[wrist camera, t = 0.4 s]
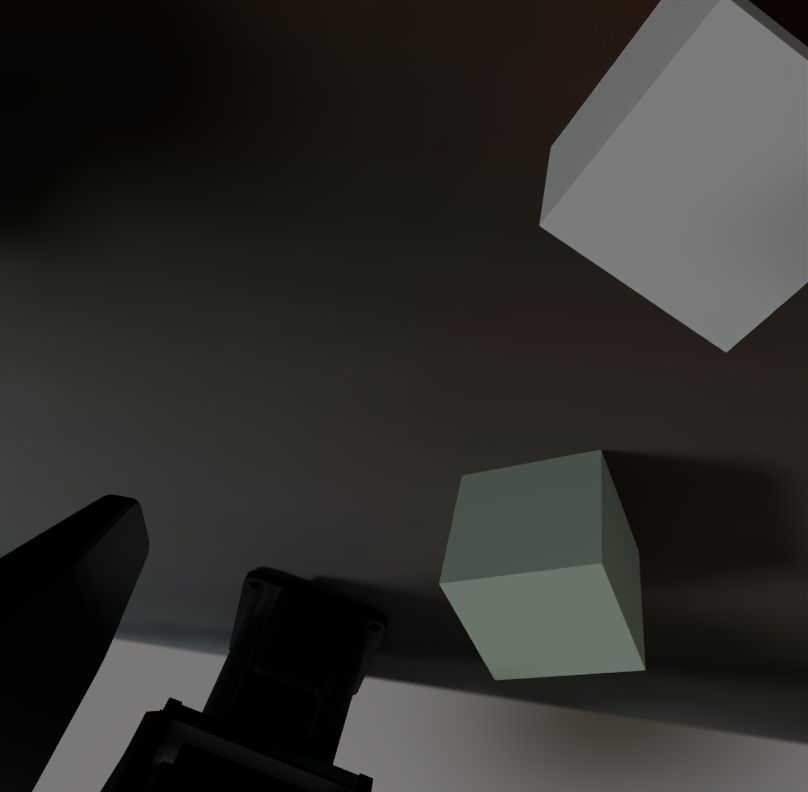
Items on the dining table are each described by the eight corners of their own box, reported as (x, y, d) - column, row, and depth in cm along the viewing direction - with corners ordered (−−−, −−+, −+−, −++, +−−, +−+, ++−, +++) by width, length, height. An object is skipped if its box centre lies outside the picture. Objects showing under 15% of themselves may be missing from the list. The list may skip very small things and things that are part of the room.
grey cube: (700, 251, 20) (726, 352, 16) (551, 146, 19) (539, 225, 15) (862, 90, 17) (942, 165, 13) (693, -43, 16) (724, -6, 12)
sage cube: (601, 447, 25) (601, 563, 21) (638, 549, 27) (645, 670, 23) (462, 474, 27) (439, 583, 23) (509, 566, 29) (495, 680, 25)
